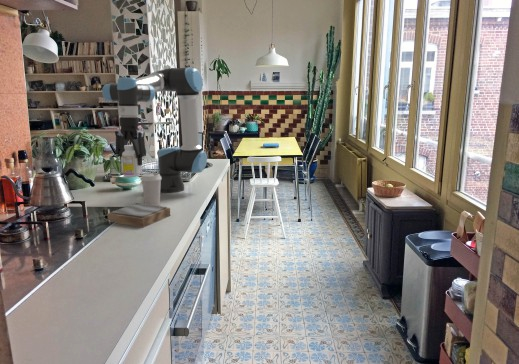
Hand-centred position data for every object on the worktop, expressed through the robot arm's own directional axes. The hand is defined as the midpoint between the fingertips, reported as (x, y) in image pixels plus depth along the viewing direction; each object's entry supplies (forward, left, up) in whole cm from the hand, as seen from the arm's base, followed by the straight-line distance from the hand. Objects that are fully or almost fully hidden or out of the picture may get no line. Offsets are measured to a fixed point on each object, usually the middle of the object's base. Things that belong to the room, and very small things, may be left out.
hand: (131, 172), depth 176 cm
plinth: (+1, +4, -19) cm, 20 cm away
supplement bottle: (0, 0, -2) cm, 2 cm away
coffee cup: (-18, -4, -20) cm, 27 cm away
